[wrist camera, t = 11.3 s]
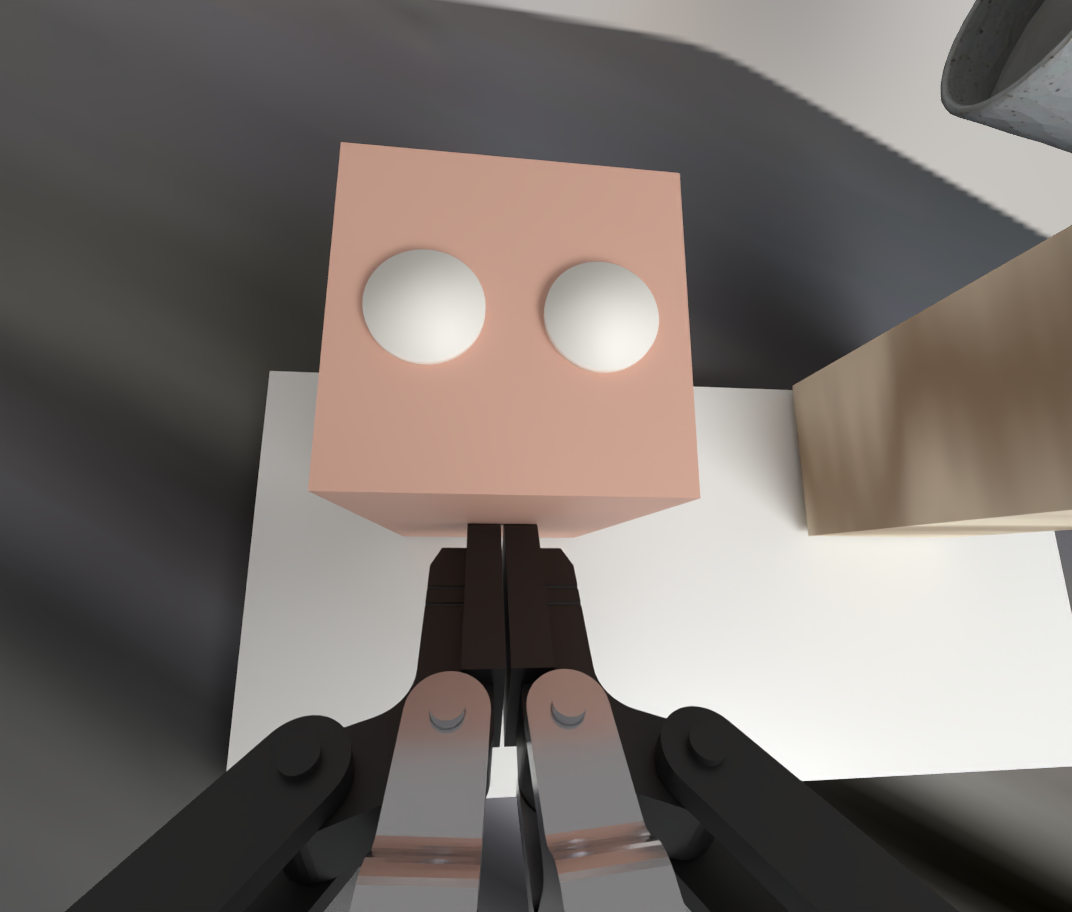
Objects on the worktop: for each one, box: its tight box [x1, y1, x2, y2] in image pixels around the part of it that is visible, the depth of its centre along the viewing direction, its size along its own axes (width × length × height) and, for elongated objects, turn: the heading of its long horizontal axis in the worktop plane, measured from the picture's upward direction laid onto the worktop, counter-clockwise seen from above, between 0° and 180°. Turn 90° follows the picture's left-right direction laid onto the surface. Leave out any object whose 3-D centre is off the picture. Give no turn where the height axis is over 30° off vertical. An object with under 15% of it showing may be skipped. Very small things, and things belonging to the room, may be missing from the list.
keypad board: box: [226, 371, 1072, 798], centre depth 17 cm, size 26×12×1 cm, turn 90°
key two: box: [308, 142, 700, 538], centre depth 12 cm, size 5×5×9 cm
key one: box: [793, 225, 1072, 538], centre depth 13 cm, size 5×5×9 cm
